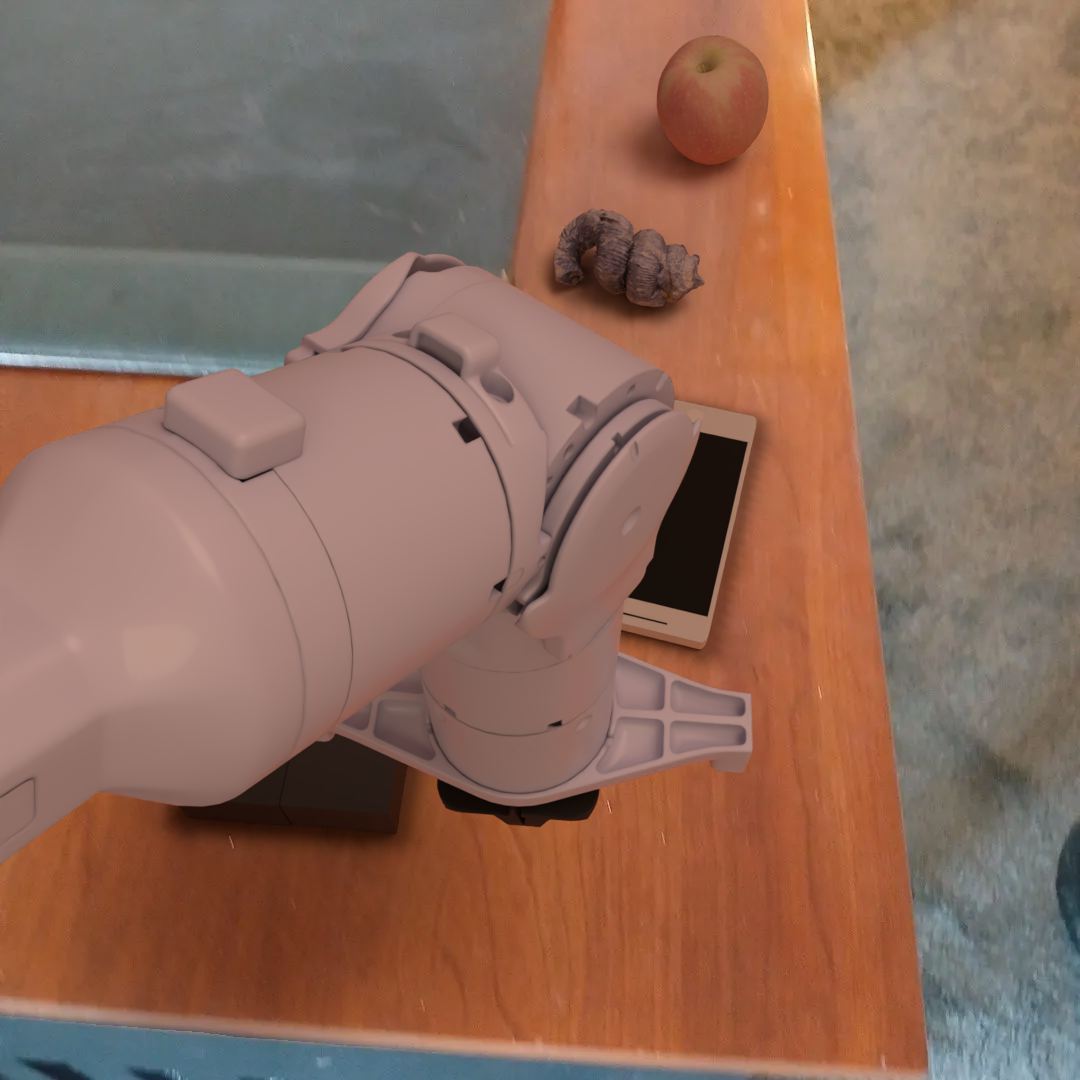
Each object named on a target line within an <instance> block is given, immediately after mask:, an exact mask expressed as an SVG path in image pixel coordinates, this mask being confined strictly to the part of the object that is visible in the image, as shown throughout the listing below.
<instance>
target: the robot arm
mask: <svg viewBox="0 0 1080 1080" xmlns="http://www.w3.org/2000/svg"><path fill="white" fill-rule="evenodd" d="M675 398H676V397H675V386H674V383H673V380H672V378H671V376H670V375H669V374H667V373H665V371H664V370H663V369H661V368H660V367H658V366H656V365H655V364H653V363H651V362H649V361H647V360H645V359H644V358H642V357H640V356H638V355H637V354H635V353H633V352H631V351H629V350H627V349H626V348H624V347H622V346H621V345H619V344H617V343H615V342H613V341H612V340H610V339H608V338H606V337H605V336H604V335H601V334H599V333H598V332H596V331H594V330H592V329H590V328H589V327H587V326H585V325H583V324H582V323H580V322H578V321H576V320H575V319H573V318H571V317H569V316H568V315H566V314H564V313H563V312H560V311H558V310H557V309H555V308H553V307H552V306H550V305H548V304H546V303H545V302H542V301H541V300H539V299H537V298H536V297H534V296H532V295H531V294H528V293H527V292H525V291H523V290H522V289H520V288H518V287H516V286H515V285H513V284H511V283H509V282H507V281H506V280H504V279H502V278H500V277H499V276H497V275H495V274H493V273H491V272H490V271H488V270H486V269H484V268H481V267H478V266H475V265H467V264H466V263H464V261H462V260H460V259H459V258H457V257H455V256H453V255H449V254H444V253H430V254H425V255H424V254H421V253H418V252H417V251H416V252H415V251H408V252H406V253H404V254H402V255H401V256H400V257H398V258H396V259H394V260H393V261H391V262H390V263H389V264H387V265H385V266H384V267H383V268H382V269H380V271H378V272H377V273H376V274H375V275H373V276H372V277H371V278H370V279H369V280H368V281H367V282H366V283H365V284H364V285H363V286H362V287H361V288H360V289H359V290H358V291H357V293H356V294H355V295H354V296H353V297H352V298H351V299H350V301H349V302H348V303H347V304H346V306H345V307H344V308H343V310H342V311H341V312H340V313H339V314H338V315H337V317H335V319H333V320H332V321H331V322H330V323H328V324H327V325H326V326H325V327H323V328H321V329H319V330H317V331H314V332H311V333H308V334H305V335H303V336H302V338H301V341H300V344H299V346H298V347H297V348H294V349H292V350H289V351H288V352H287V353H286V354H285V356H284V361H283V365H282V366H279V367H276V368H273V369H269V370H266V371H263V372H260V373H258V374H254V375H252V376H249V375H247V374H245V372H242V371H241V370H240V369H237V368H233V367H231V368H230V367H229V368H226V369H223V370H220V371H216V372H213V373H210V374H206V375H203V376H201V377H198V378H193V379H191V380H187V381H185V382H181V383H178V384H175V385H172V386H171V387H170V388H169V389H167V391H166V393H165V397H164V404H163V405H160V406H156V407H154V408H151V409H148V410H145V411H142V412H139V413H135V414H133V415H129V416H126V417H124V418H121V419H117V420H115V421H111V422H108V423H106V424H102V425H100V426H97V427H94V428H91V429H90V428H89V429H88V430H85V431H84V430H83V431H82V432H79V433H74V434H72V435H69V436H66V437H63V438H59V439H57V440H53V441H50V442H47V443H45V444H43V445H42V446H39V447H37V448H34V449H33V450H31V451H30V452H29V453H27V454H26V455H25V456H24V457H22V458H21V460H20V461H18V462H17V464H16V465H15V466H14V467H13V469H12V470H11V472H10V473H9V474H8V476H7V477H6V479H5V481H4V482H3V484H2V486H1V487H0V865H2V864H3V863H4V862H7V860H9V859H10V858H12V857H13V856H14V855H15V854H16V853H18V852H19V851H20V850H22V849H23V848H24V847H26V846H27V845H29V844H31V842H33V841H34V840H36V838H38V837H39V836H42V835H43V834H44V833H45V832H47V831H48V830H49V829H51V828H52V827H53V826H54V825H56V824H57V823H59V822H60V821H61V820H62V819H64V818H65V817H67V816H69V814H71V813H72V812H74V811H75V810H76V809H78V808H79V807H80V806H82V805H83V804H85V803H86V802H87V801H88V800H90V799H91V798H93V797H94V796H95V795H97V794H99V793H100V794H107V795H114V796H119V797H124V798H125V797H126V798H131V799H135V800H140V801H141V800H142V801H147V802H152V803H158V804H164V805H170V806H175V807H176V806H178V807H179V806H209V805H216V804H221V803H223V802H226V801H228V800H231V799H233V798H235V797H237V796H238V795H240V794H242V793H243V792H244V791H246V790H247V789H249V788H250V787H252V786H253V785H254V784H256V783H257V782H259V781H260V780H262V779H263V778H264V777H266V776H267V775H269V774H270V773H271V772H273V771H274V770H276V769H277V768H278V767H280V766H281V765H283V764H284V763H285V762H287V761H288V760H290V759H291V758H293V757H294V756H295V755H297V754H298V753H300V752H301V751H303V750H304V749H305V748H307V747H308V746H310V745H311V744H313V743H314V742H315V741H323V742H325V741H329V740H331V739H332V738H333V737H334V735H335V733H336V734H339V735H341V736H344V737H347V738H349V739H352V740H354V741H356V742H358V743H361V744H363V745H365V746H367V747H369V748H372V749H374V750H376V751H378V752H380V753H383V754H385V755H387V756H389V757H391V758H393V759H396V760H398V761H400V762H402V763H404V764H407V766H409V767H411V768H414V769H416V770H417V771H420V772H421V773H424V774H427V775H429V776H431V777H433V778H435V779H436V788H437V789H436V790H437V793H438V796H439V799H440V801H441V803H442V804H443V806H444V808H445V809H447V810H449V811H452V812H455V813H462V814H474V815H475V814H476V815H489V816H494V817H495V818H496V819H499V820H500V821H501V822H503V823H505V824H506V825H508V826H518V827H519V826H520V827H533V828H541V827H542V826H544V825H545V824H546V823H547V822H549V821H562V822H563V821H564V822H579V821H580V822H581V821H586V820H589V818H590V816H592V814H593V811H594V810H595V808H596V806H597V803H598V801H599V796H600V789H604V788H606V787H607V788H608V787H610V786H614V785H618V784H621V783H626V782H629V781H633V780H636V779H637V780H638V779H640V778H643V777H648V776H651V775H655V774H658V773H659V774H660V773H662V772H667V771H670V770H674V769H677V768H681V767H684V766H688V765H693V764H698V763H703V762H709V764H710V767H711V769H713V770H714V771H717V772H723V773H735V774H743V773H744V772H745V770H746V767H747V765H748V763H749V760H750V758H751V756H752V754H753V750H754V739H753V738H754V737H753V736H754V735H753V734H754V733H753V702H752V700H753V699H752V698H753V697H752V693H750V692H744V691H735V690H729V689H722V688H718V687H714V686H710V685H706V684H705V683H704V684H703V683H701V682H698V681H695V680H692V679H690V678H687V677H684V676H682V675H679V674H677V673H674V672H672V671H669V670H668V669H665V668H662V667H660V666H657V665H655V664H652V663H650V662H647V661H644V660H642V659H640V658H637V657H635V656H632V655H630V654H628V653H625V652H622V651H620V643H621V635H622V630H621V627H622V618H623V609H624V601H625V599H626V598H627V597H628V596H629V595H630V594H631V592H632V591H633V590H634V589H635V588H636V587H637V585H638V584H639V583H640V582H641V580H642V578H643V577H644V574H645V571H646V567H647V565H648V564H649V562H650V561H651V560H652V558H653V554H654V548H655V542H656V537H657V533H658V530H659V527H660V525H661V522H662V520H663V518H664V515H665V513H666V511H667V509H668V507H669V505H670V503H671V502H672V500H673V498H674V496H675V494H676V492H677V490H678V488H679V486H680V484H681V482H682V479H683V477H684V475H685V473H686V470H687V468H688V466H689V463H690V461H691V458H692V456H693V453H694V450H695V447H696V444H697V441H698V437H699V434H700V430H701V425H702V420H700V419H697V420H696V421H695V422H694V423H693V425H692V421H691V419H690V417H689V416H688V415H687V414H686V413H684V412H682V411H678V410H674V411H673V409H674V400H676V399H675Z"/></svg>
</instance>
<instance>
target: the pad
mask: <svg viewBox="0 0 1080 1080" xmlns="http://www.w3.org/2000/svg"><path fill="white" fill-rule="evenodd" d="M407 769H408V765H407V764H404V763H402V762H400V761H398V760H396V759H393V758H391V757H389V756H387V755H385V754H383V753H380V752H378V751H376V750H374V749H372V748H369V747H367V746H365V745H363V744H361V743H358V742H356V741H354V740H352V739H349V738H347V737H344V736H341V735H339V734H336V733H335V735H334V737H333V738H332V739H331V740H329V741H325V742H323V741H315V742H314V743H313V744H311V745H310V746H308V747H307V748H305V749H304V750H303V751H301V752H300V753H298V754H297V755H295V756H294V757H293V758H291V759H290V760H289V763H288V768H287V772H286V777H285V781H284V786H283V790H282V795H281V799H280V804H279V805H280V807H281V808H282V810H283V811H284V813H285V814H286V816H287V817H288V819H289V820H290V822H291V823H292V826H294V827H307V828H318V829H319V828H320V829H329V830H330V829H332V830H344V831H354V832H355V831H357V832H369V833H383V834H394V835H395V834H397V832H398V827H399V822H400V821H399V820H400V814H401V808H402V802H403V796H404V788H405V782H406V776H407Z"/></svg>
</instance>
